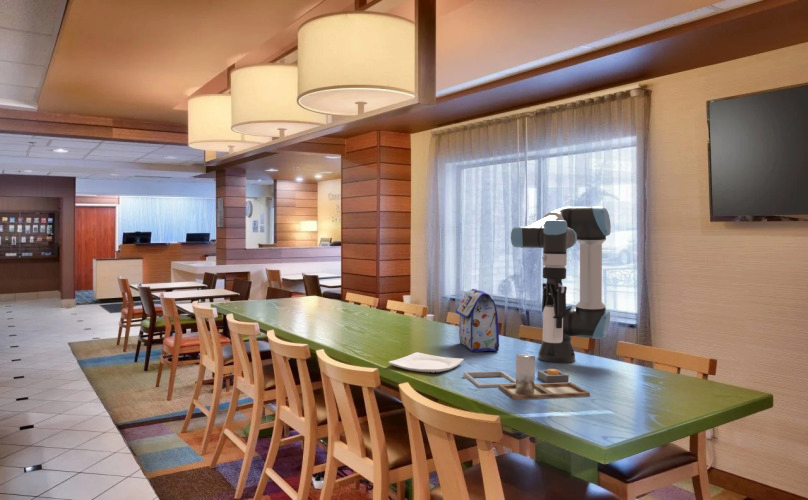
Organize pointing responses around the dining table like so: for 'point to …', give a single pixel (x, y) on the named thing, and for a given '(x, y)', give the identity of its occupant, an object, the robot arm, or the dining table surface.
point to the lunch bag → (478, 322)
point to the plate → (426, 363)
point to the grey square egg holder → (553, 377)
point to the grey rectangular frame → (488, 374)
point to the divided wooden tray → (547, 391)
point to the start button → (552, 371)
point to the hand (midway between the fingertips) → (553, 335)
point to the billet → (525, 374)
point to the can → (550, 325)
